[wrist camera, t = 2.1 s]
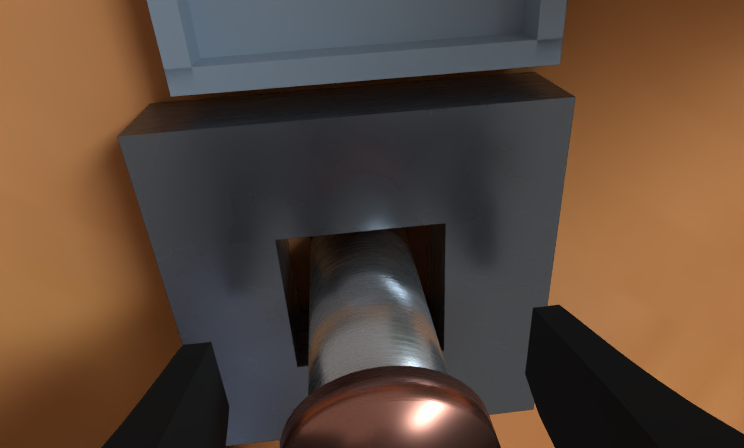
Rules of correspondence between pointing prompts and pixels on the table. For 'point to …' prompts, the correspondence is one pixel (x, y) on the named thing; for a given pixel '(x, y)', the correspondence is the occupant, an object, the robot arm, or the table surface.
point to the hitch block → (354, 220)
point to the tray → (347, 40)
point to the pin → (378, 355)
